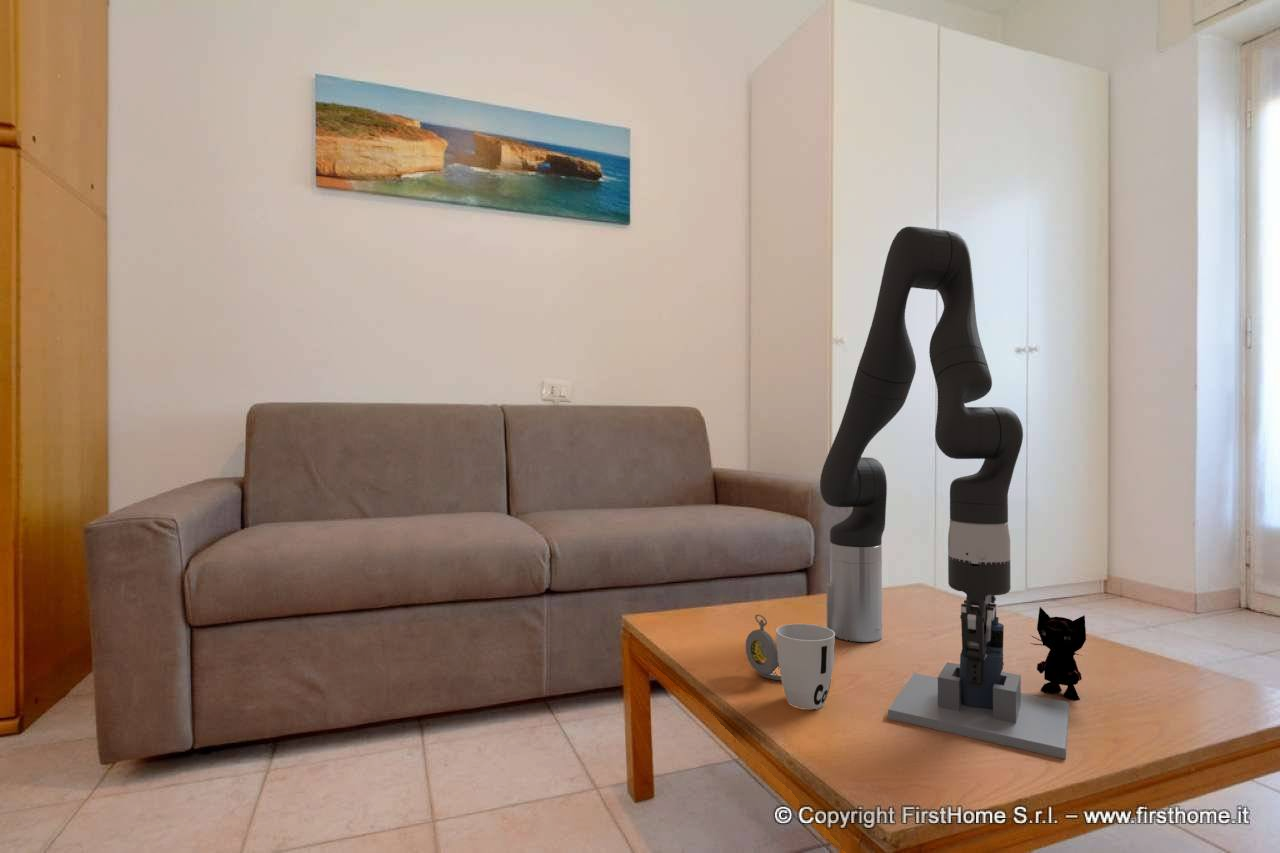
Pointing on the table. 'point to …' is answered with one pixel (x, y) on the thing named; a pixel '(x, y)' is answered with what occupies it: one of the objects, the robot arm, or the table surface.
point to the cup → (805, 663)
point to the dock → (985, 712)
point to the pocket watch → (762, 651)
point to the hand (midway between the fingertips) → (979, 679)
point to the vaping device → (993, 670)
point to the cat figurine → (1060, 652)
